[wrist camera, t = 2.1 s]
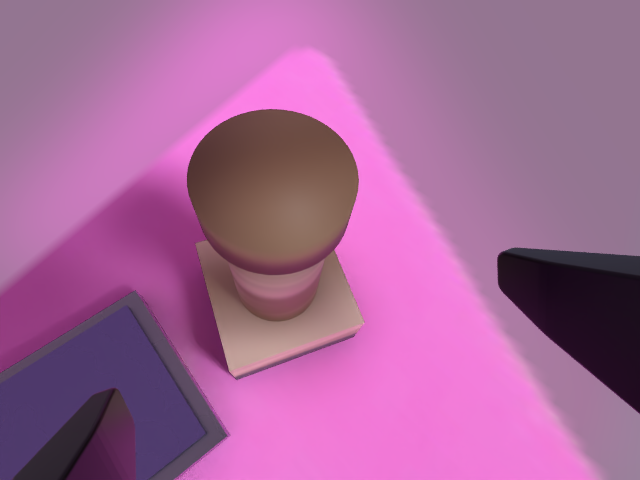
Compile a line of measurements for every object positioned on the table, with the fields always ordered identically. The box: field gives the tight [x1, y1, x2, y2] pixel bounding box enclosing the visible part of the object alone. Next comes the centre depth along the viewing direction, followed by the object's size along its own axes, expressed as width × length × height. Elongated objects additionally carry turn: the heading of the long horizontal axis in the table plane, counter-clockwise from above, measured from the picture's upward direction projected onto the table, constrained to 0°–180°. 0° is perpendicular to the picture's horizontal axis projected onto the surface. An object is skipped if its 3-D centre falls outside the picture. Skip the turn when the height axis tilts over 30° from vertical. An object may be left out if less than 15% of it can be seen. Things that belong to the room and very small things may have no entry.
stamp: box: [187, 109, 365, 380], centre depth 15 cm, size 6×6×11 cm
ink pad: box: [0, 290, 230, 480], centre depth 17 cm, size 8×8×1 cm
